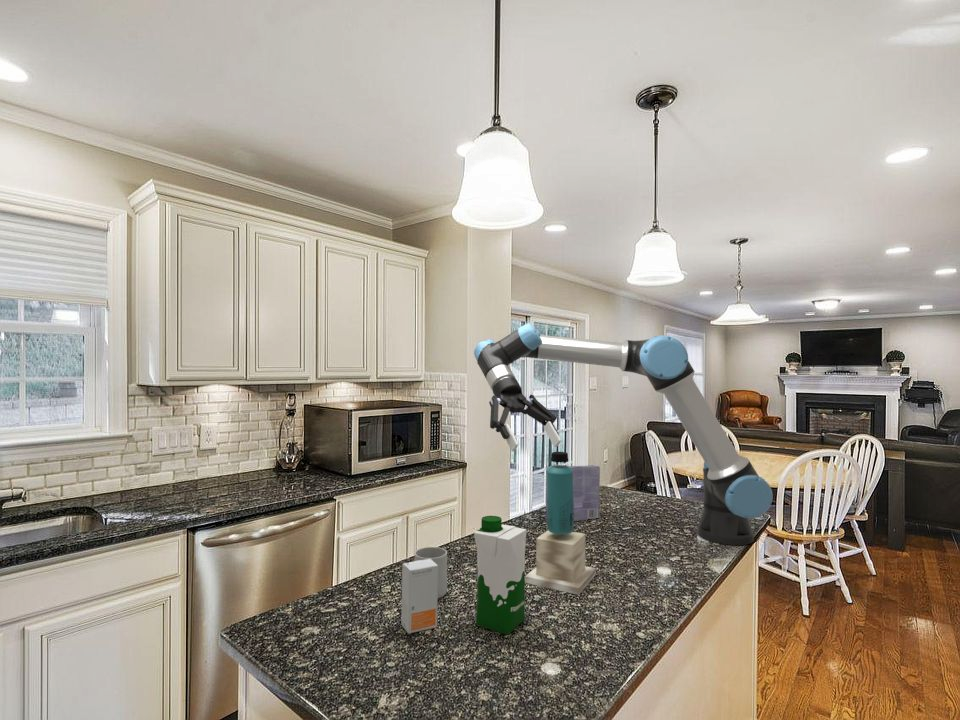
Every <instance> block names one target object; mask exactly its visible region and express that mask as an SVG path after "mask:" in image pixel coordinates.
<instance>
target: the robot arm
mask: <svg viewBox="0 0 960 720" xmlns="http://www.w3.org/2000/svg"><path fill="white" fill-rule="evenodd" d="M688 354H689V353H688V351H687V348H686V347H685V345H684V344H683V343H682V342H681V341H680V340H679V339H677V338H675V337H673V336H669V335H656V336H653V337H651V338H648V339H642V340H629V339H625V340H624V341H623V342H618V341H617V342H616V341H606V340H597V339H587V338H586V339H585V338H578V337H577V338H575V337H566V336H557V335H556V336H555V335H547V334H539V333H538V332H537V329H536V328H535V326H533V324H532V323H531V322H530V323H529V322H528V323H527V322H526V324H524V325H522V326H520V327H518V328H517V329H515V330H514V331H513V332H510V333H509V334H508V335H506V336H505V337H503V338H501V339H500V340H498V341H495V340H493V339H486V340H482V341H480V342H479V343H478V344H476V346H475V347H474V349H473V355H474V358H475V359H476V363H477V365H478V366H479V368H480V370H481V373H482V374H483V376H484V378H485V379H486V382H487V383H488V385H489V387H490V389H491V391H492V393H493V395H492V397H491V398H490V400H489V402H488V403H489V406H490V418H489V419H490V420H489V421H490V422H489V428H490V429H492V430H494V429H495V432H496V433H500V435H501V436H502V438H503V440H505V441H506V442H507V444H508V446H509V448H510V451H511V452H515V451H516V449H517V448H518V447H519V445H520V443H519V442H518V440H517V438H516V437H515V435H514V433H513V430H512V428H511V426H510V425H509V423H506V421H507V419H508V416H509V414H510V413H511V414H515V413H518V414H520V413H522V414H523V415H527V416H529V417H531V418H532V419H533V420H535V421H536V422H538V423H540V424H541V425H543V430H544V432H545V434H546V435H547V436H548V438H549V440H550V442H551V444H552V445H553V447H554V448H557V447H558V446H559V445H560V443H561V442H562V439H561V437H560V436H559V434H558V430H557V428H556V426H555V424H554V422H556V420H557V416H555V415H554V413H552V412H551V411H550V410H549V409H548V408H546V407H545V405H543V404H542V403H541V402H539V401H538V399H537V398H536V397H535V396H534V394H530V395H529V396H525V395H524V394H523V390H522V387H521V385H520V383H519V382H518V381H519V380H517V378H516V376H515V375H514V374H515V373H513V370H512V369H511V367H510V366H509V365H511V364H513V363H514V362H516V361H517V360H520V359H521V358H530V359H539V360H541V359H542V360H548V361H550V360H551V361H558V362H567V363H577V364H583V365H584V364H585V365H586V364H587V365H596V366H602V367H613V368H619V369H620V370H621V371H622V372H626V373H633V374H637V375H641V376H644V377H646V378H647V379H648V381H649V382H650V384H651V385H652V388H653V389H654V391H655V392H656V393H660V394H663V395H664V397H665V398H666V400H667V401H668V403H669V405H670V406H671V408H672V410H673V411H674V414H675V415H676V416H677V419H679V421H680V423H681V425H682V427H683V428H684V430H685V431H686V433H687V435H688V437H689V438H690V440H691V441H692V444H694V446H695V448H696V450H697V451H698V453H699V455H700V456H701V458H702V459H703V468H702V472H703V475H702V476H703V510H702V513H701V516H700V519H699V521H698V523H697V535H698V536H699V537H700V538H701V539H704V540H706V541H708V542H709V541H710V542H712V543H717V544H722V545H732V546H743V545H744V546H745V545H749V544H752V543H754V542H755V536H754V535H755V533H754V530H753V527H752V523H751V521H750V519H756V518H759V517H761V516H763V515H764V514H765V513H767V512H768V510H769V509H770V508H771V506H772V503H773V500H774V499H773V498H774V497H773V496H774V495H773V490H772V488H771V486H770V484H769V483H768V482H767V481H766V479H764V478H763V477H761V476H759V474H758V473H757V470H756V469H755V468H754V465H752V463H751V461H750V460H749V458H748V457H745V456H743V455H740V454H739V453H738V451H737V449H736V448H735V446H734V444H733V443H732V442H731V440H730V438H729V436H728V435H727V434H726V431H725V430H724V428H723V427H722V425H721V424H720V421H719V420H718V419H717V417H716V414H715V413H714V411H712V409H711V407H710V405H709V403H708V402H707V400H706V398H705V397H704V395H703V393H702V392H701V390H700V389H699V387H698V386H697V384H696V382H695V381H694V376H695V369H694V368H693V366H692V364H691V363H690V361H689V355H688ZM499 406H501V407H503V410H502V413H501V416H500V418H499Z"/></svg>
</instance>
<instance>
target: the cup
mask: <svg viewBox="0 0 960 720" xmlns="http://www.w3.org/2000/svg"><path fill="white" fill-rule="evenodd" d="M426 559H431V560H432V561H433V562H435V563H436V564H437V565H438V599H441V598H443V597H444V596H445V595H446V594H447V592H448V590H447V589H448V550H447V549H445V548H442V547H438V546H437V547H436V546H427V547H422V548H421V547H420V548H419V549H417V550H415V551H414V561H418V560H426Z"/></svg>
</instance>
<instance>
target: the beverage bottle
mask: <svg viewBox="0 0 960 720" xmlns="http://www.w3.org/2000/svg"><path fill="white" fill-rule="evenodd" d="M568 455H569V453H568V452H565V451H552V452H551V456H550V461H551V462H553V463H568V462H569V456H568ZM568 466H569V465H562V464H554V465H551V466H549V467H550V468H549V469H548V470H547V510H546V509H545V513H546V512H547V520H546V528H547V530H548V531H549V532H552V533H555V534H569V533H572V532H574V529H575V521H573V519H574V518H573V515H574V512H573V508H574V507H573V502H574V500H573V490H574V489H573V471H572V470H571V469H570V468H569V467H568Z"/></svg>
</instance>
